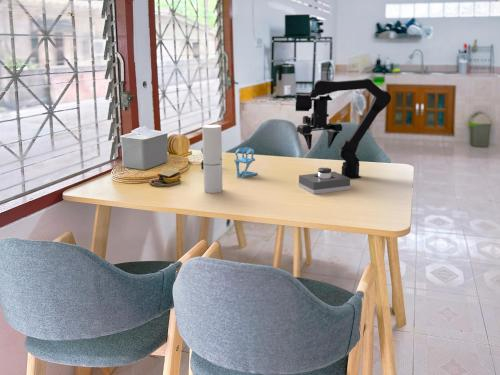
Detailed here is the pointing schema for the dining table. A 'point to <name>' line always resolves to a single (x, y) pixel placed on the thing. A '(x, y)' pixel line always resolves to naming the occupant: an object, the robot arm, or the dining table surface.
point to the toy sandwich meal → (167, 178)
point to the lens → (324, 173)
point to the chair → (244, 160)
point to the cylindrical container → (212, 158)
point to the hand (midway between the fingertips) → (319, 148)
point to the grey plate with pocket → (324, 183)
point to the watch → (202, 160)
